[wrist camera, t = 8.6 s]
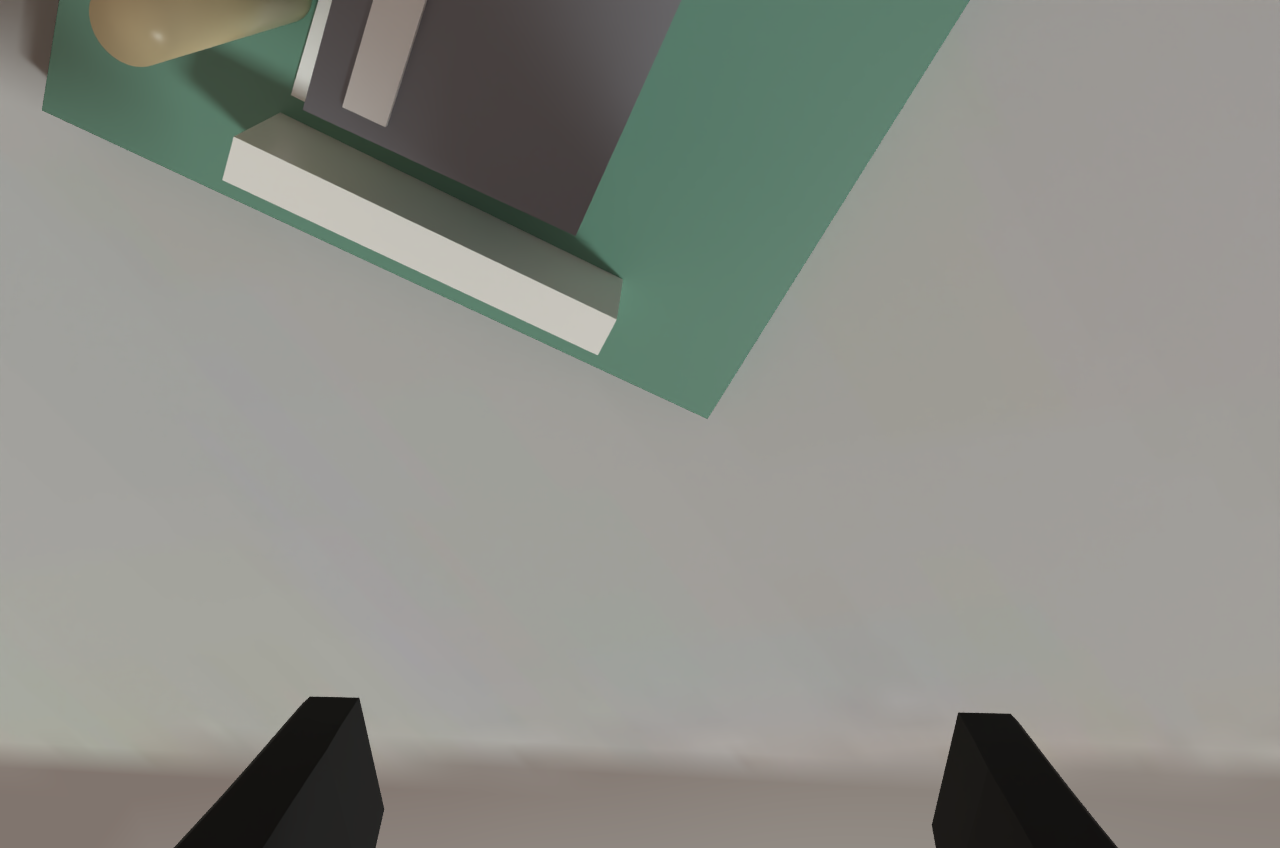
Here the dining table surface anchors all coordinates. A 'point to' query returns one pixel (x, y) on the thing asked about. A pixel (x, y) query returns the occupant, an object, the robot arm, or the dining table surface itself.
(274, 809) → the robot arm
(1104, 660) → the dining table surface
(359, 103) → the block
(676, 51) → the header board
